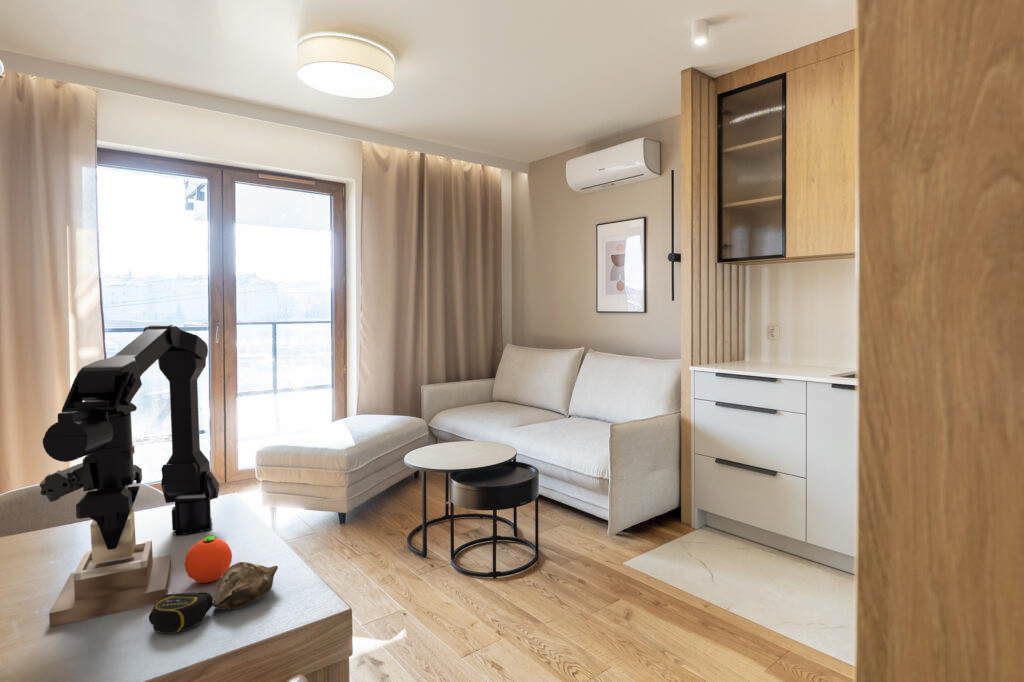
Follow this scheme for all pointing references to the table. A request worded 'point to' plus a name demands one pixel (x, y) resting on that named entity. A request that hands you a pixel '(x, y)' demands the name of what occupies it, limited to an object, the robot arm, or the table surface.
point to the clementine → (208, 560)
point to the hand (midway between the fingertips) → (114, 542)
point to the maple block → (123, 547)
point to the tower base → (112, 585)
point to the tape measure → (180, 611)
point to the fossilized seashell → (243, 585)
